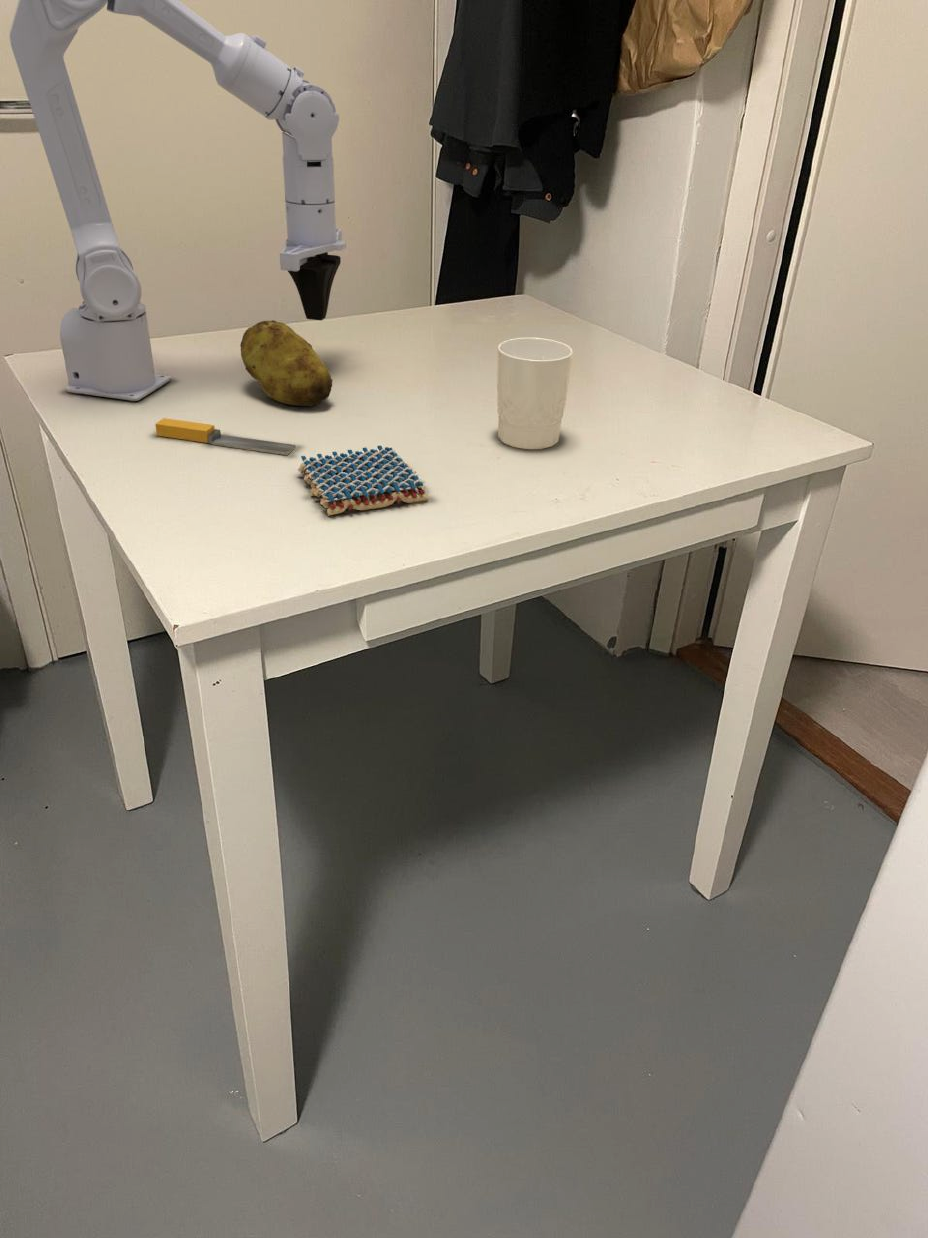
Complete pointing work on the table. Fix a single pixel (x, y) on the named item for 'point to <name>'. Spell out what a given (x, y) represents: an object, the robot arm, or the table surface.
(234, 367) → the table surface
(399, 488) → the woven mat
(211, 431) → the knife
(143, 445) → the table surface
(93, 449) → the table surface
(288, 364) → the potato
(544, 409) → the white cup
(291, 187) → the robot arm
